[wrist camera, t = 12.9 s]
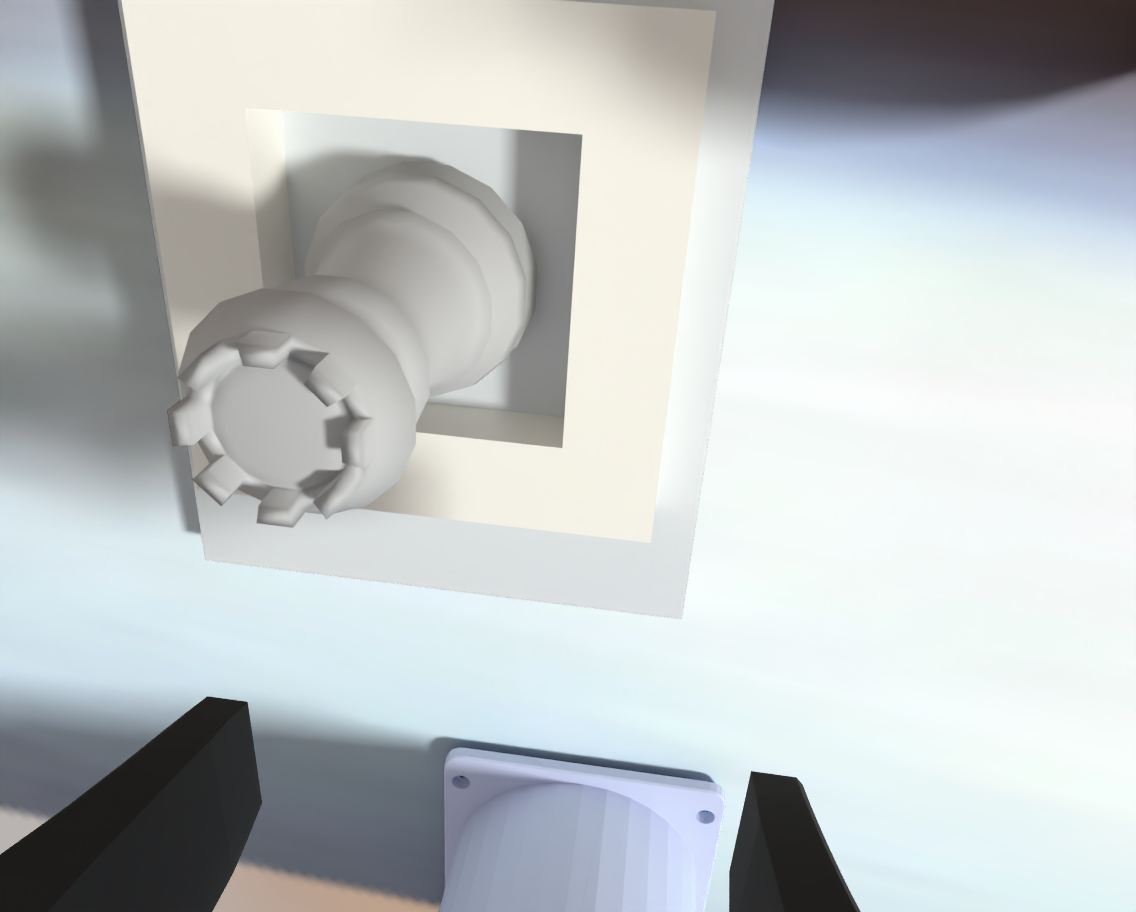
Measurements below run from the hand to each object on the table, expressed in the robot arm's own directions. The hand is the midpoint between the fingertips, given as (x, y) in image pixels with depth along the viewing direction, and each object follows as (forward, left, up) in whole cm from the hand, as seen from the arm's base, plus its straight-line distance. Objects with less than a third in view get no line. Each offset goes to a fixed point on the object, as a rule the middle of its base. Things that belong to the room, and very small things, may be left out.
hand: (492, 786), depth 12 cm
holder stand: (+5, +3, -9) cm, 11 cm away
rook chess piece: (+5, +3, -9) cm, 10 cm away
